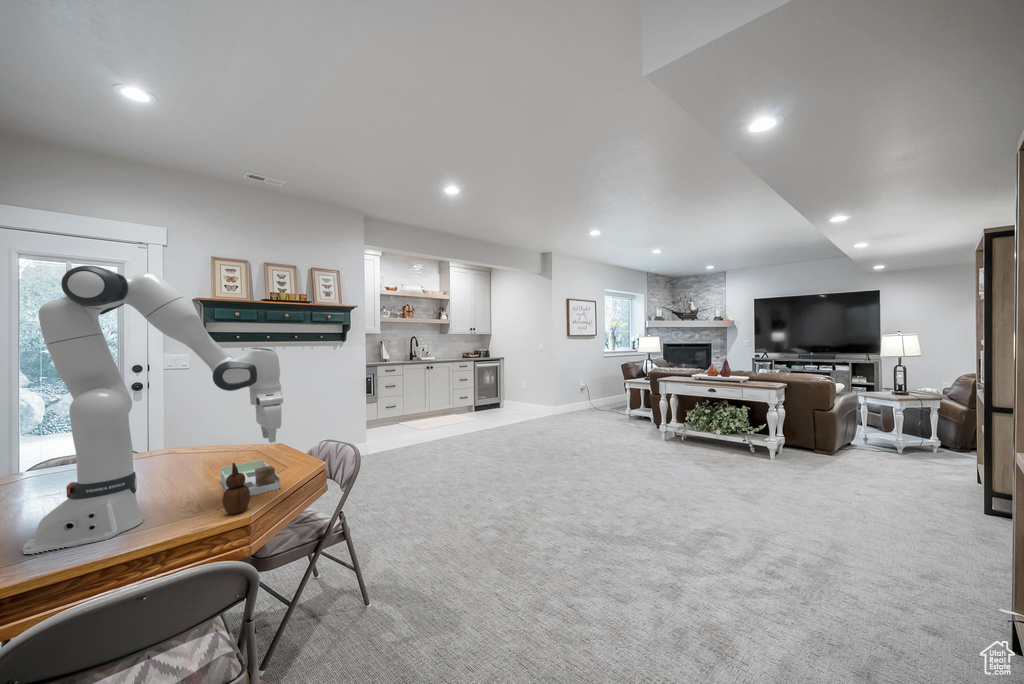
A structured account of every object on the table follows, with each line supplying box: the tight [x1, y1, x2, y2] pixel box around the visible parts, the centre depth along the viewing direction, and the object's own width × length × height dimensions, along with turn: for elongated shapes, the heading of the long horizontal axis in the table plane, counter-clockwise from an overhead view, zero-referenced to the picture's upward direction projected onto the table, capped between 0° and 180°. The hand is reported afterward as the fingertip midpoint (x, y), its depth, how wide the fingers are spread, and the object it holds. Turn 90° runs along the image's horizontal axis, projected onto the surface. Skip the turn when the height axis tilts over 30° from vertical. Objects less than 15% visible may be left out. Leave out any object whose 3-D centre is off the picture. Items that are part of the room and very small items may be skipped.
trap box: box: [220, 459, 281, 497], centre depth 147 cm, size 14×28×5 cm, turn 41°
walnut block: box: [255, 465, 276, 487], centre depth 141 cm, size 5×5×5 cm
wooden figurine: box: [222, 462, 251, 515], centre depth 122 cm, size 7×6×15 cm
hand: (269, 439), depth 135 cm, fingers open, 8 cm apart
